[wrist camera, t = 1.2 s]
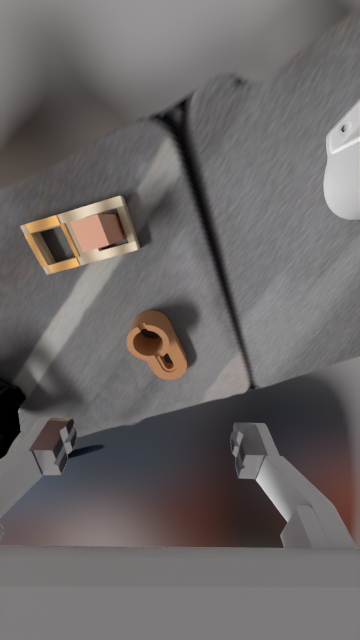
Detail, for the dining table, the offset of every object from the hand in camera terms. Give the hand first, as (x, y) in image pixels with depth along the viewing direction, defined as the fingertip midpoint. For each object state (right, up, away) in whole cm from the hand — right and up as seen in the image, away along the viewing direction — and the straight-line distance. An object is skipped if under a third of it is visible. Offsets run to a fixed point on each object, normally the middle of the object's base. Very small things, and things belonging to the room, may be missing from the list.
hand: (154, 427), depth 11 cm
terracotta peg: (-11, +22, +27) cm, 36 cm away
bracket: (-3, 0, +38) cm, 38 cm away
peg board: (-16, +21, +27) cm, 38 cm away
